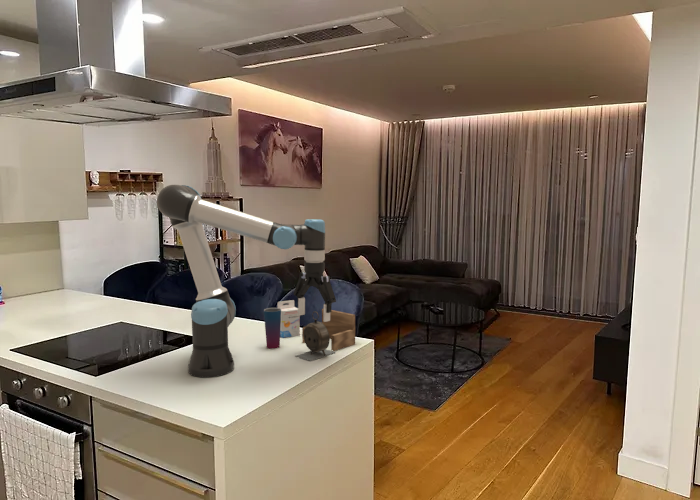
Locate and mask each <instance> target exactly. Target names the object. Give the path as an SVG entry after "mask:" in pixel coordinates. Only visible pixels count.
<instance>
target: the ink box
mask: <svg viewBox="0 0 700 500" xmlns="http://www.w3.org/2000/svg"><path fill="white" fill-rule="evenodd" d="M277 308H280V309H281V326H280V338H281V339H284V338H285V339H286V338H291V337H296V336H300V335H301V334H300V331H301V330H300V327H301V326H300V320H301V319H300V317H301V315H300V316H299V315H298V307H296V306H295V300H294V299H292V300H290V299H289V300H283V301H278V302H277Z"/></svg>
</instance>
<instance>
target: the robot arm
mask: <svg viewBox="0 0 700 500" xmlns="http://www.w3.org/2000/svg"><path fill="white" fill-rule="evenodd" d="M156 205H157V208H158V211H160V213H161V214H163V216H165V217H167V218H168V219H169V221H170V224H171V227H172V228H173V229H175V230H177V231H178V234H179V238H180V241H181V243H182V247H183V251H184V252H185V256H186V260H187V263H188V265H189V268H190V272H191V274H192V275H191V276H192V277H193V281H194V284H195V288H196V290H197V295H196V298H195V301H196V302H195V303H194V304H193V305H192V307H191V314H190V315H191V316H190V318H191V334H192V336H191V337H192V351H191V354H190V358H189V361H188V365H187V367H188V368H187V371H188V374H189V375H190V376H193V377H197V378H213V377H219V376H223V375H225V374H226V375H227V374H229V373H231V372H232V371H233V370H234V369H235V361H234V358H233V355H232V352H231V350H230V348H229V334H228V332H229V326H230V325H231V324H233V321H234V319H235V318H236V311H237V309H236V305H235V302H234V300H233V299H232V298H231V297H230V294H229V291H228V289H227V288H226V287H224V286H222V282H221V280H220V279H221V278H220V277H219V273H218V271H217V266H216V264H215V261H214V258H213V254H212V251H211V248H210V245H209V242H208V238H207V236H206V232H205V229H204V226H203V224H204V225H206V226H209V227H210V226H211V227H214V228H216V229H220V230H223V231H226V232H228V233H229V232H230V233H233V234H236V235H240V236H244V237H247V238H250V239H253V240H256V241H259V242H262V243H266V244H269V245H273V246H274V247H277V248H278V249H281V250H288V249H291V248H293V247H294V246H303V247H304V252H303V253H304V254H303V256H304V262H303V264H304V265H303V266H304V267H303V269H304V270H303V271H304V272H299V276H298V277H299V278H298V280H297V283H296V285H295V288H294V290H293V296H295V297H296V299H297V308H298V315H299V316H300V317H301V316H303V315H304V316H305V314H306V298H305V295H306V293H307V292H308V290H309V289H310V288H311V287H313V288H316V289H317V290H318V291H319V294H320V295H321V298H322V299H323V301H324V303H323V309H324V319H323V322H327V321H330V312H331V310H332V304H333V303H337V298H336V296H335V293H334V290H333V287H332V284H331V277H330V275H327V276H325V275H324V272H325V271H326V270H325V268H326V266H325V265H326V264H325V260H326V257H325V255H326V252H325V251H326V248H325V247H326V222H325V220H323V219H312V218H310V219H309V218H307V219H305V220H304V223H303V224H291V223H290V224H289V223H288V224H285V223H284V224H282V223H277V222H274V221H272V220H268V219H266V218H262V217H258V216H257V215H252V214H249V213H246V212H243V211H240V210H236V209H233V208H229V207H227V206H223V205H220V204H218V203H215V202H212V201H208V200H204V199H202V197H201V195H200V193H199V192H198V191H197V190H196V189H194V188H193V187H191V186H189V185H185V184H181V185H180V184H169V185H166V186H165V187H163V188H162V189H161V190H160V191H159V192H158V195H157V197H156Z"/></svg>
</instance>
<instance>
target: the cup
mask: <svg viewBox="0 0 700 500" xmlns="http://www.w3.org/2000/svg"><path fill="white" fill-rule="evenodd" d="M263 316H264V319H263V320H264V329H265V330H264V331H265V339H266V341H265V342H266V348H267V349H270V350H271V349H278V348H280V347H281V345H280V344H281V343H280V342H281V337H280V326H281V309H280V308H278V307H267V308H264V309H263Z"/></svg>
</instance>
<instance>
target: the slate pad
mask: <svg viewBox="0 0 700 500" xmlns="http://www.w3.org/2000/svg"><path fill="white" fill-rule="evenodd" d="M324 352H325V354H326V356H325V357H328V356H330V354H331V355H333V353H334V354H336V351H332V350H329V349H325V350H324ZM327 355H328V356H327ZM294 357H295V358H297V359H298V358H299V359H301V360H304V361H308V362H313V361H315V360H318V359H322V358H325V357H324V353H323V352H322V351H319V352H312V355H311V350H308V351H306V352H303V353H300V354H296V355H295V356H294Z"/></svg>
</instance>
